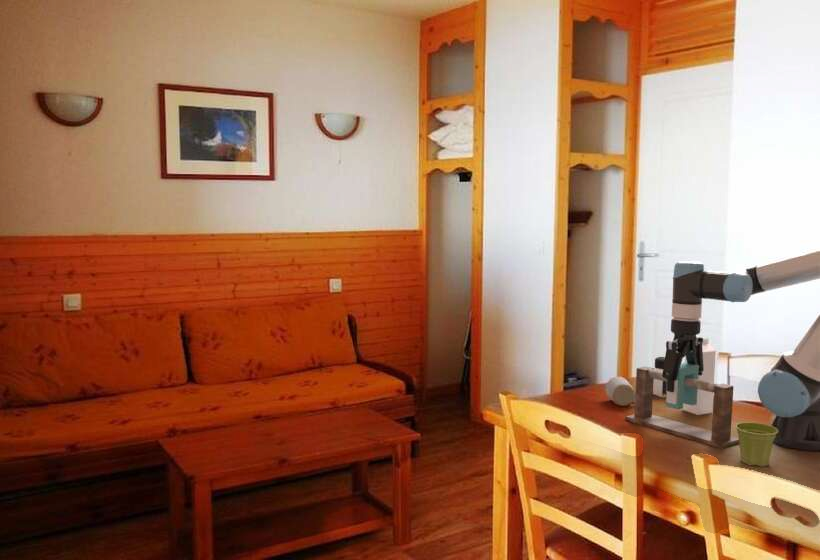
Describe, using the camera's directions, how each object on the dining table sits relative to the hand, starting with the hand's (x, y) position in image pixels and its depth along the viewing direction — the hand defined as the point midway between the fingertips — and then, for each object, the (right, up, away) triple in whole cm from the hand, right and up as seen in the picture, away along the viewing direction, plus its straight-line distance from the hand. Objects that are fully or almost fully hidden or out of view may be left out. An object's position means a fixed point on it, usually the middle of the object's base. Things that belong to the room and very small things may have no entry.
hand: (681, 400), depth 205 cm
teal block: (0, -1, 0) cm, 1 cm away
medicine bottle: (+8, -4, +40) cm, 41 cm away
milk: (+12, -7, +20) cm, 24 cm away
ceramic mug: (-8, -6, +28) cm, 30 cm away
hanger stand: (0, -8, +1) cm, 9 cm away
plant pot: (+9, -12, -23) cm, 27 cm away
